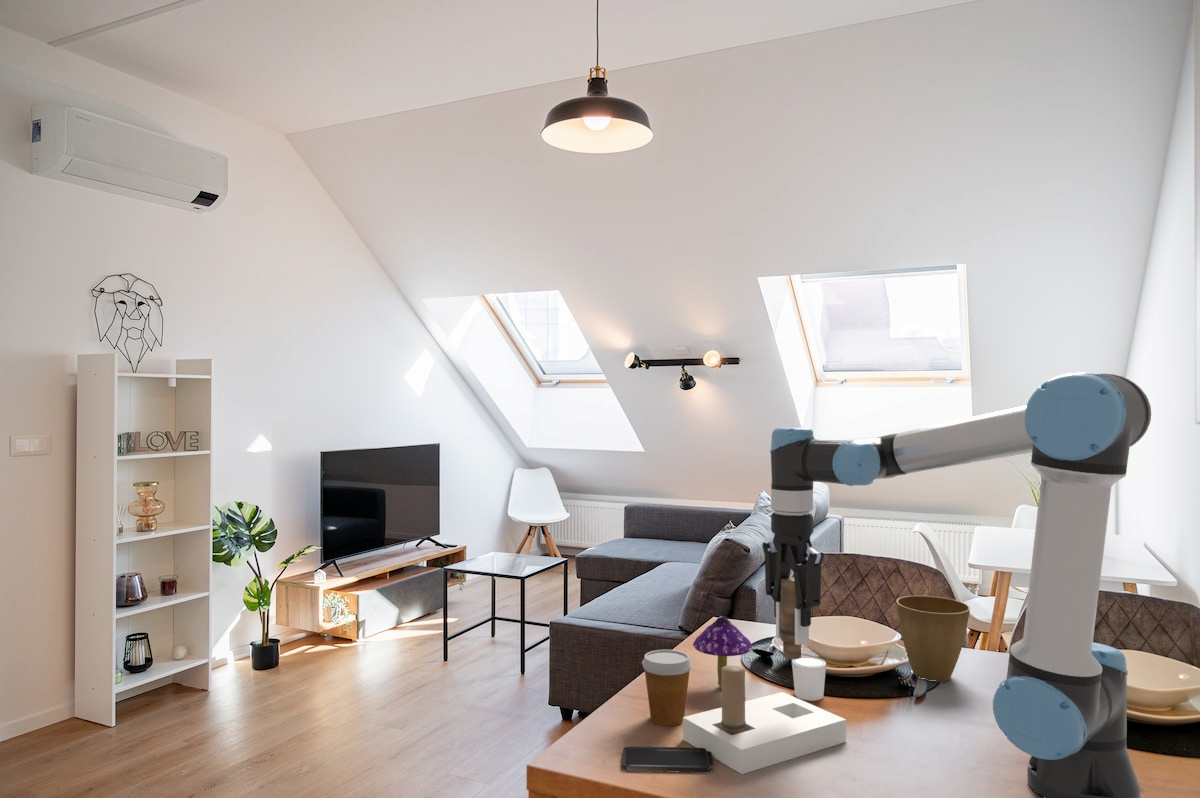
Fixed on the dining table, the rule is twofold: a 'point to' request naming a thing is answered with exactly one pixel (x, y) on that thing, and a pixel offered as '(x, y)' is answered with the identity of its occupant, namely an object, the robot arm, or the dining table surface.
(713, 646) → the decorative mushroom
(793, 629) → the walnut leg
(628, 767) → the phone
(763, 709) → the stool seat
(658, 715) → the disposable coffee cup
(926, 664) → the plant pot
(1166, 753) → the dining table surface
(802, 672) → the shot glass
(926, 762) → the dining table surface
